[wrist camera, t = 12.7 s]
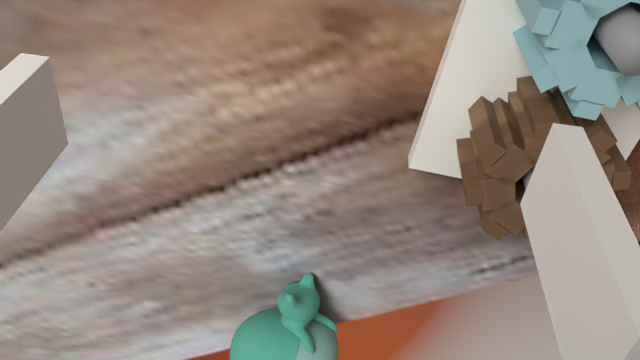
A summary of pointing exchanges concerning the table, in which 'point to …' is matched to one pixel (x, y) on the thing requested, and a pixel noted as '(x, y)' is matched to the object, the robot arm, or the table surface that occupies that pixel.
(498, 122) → the walnut gear
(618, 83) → the teal gear
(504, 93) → the gear board
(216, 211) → the table surface
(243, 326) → the toy
